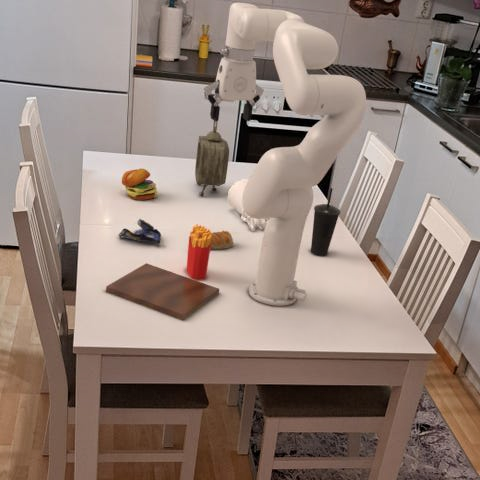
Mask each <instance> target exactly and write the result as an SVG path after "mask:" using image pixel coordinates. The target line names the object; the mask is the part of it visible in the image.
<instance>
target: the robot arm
mask: <svg viewBox="0 0 480 480" xmlns="http://www.w3.org/2000/svg"><path fill="white" fill-rule="evenodd" d="M228 13H229V14H228V20H227V29H226V37H225V44H224V48H221V49H220V52H219V53H220V55H223V57H221V59H220V63H219V66H218V69H217V73H216V77H215V81H214V82H212V83H210V84H209V85H205V86H204V87H203V90H204V91H203V92H204V94H205V97H206V99H207V100H208V102H209V104H211V105H210V113H209V116H210V119H211V120H212V121H213V122H214V121H217V122H219V119H220V110H221V107H220V104H221V103H222V101H245V102H246V103H244V104H243V111H242V119H243V120H245V121H247V122H251V118H252V116H253V108H254V107H255V106H256V103H258V102H259V101H260V99H261V97H262V95H263V93H264V91H265V90H264V88H262V87H261V86H260V85H258V84H257V63H256V61H255V60H254V54H255V48H256V42H273V43H272V56H273V61H274V66H275V69H276V73H277V75H278V79H279V81H280V84H281V88H282V91H283V94H284V97H285V100H286V103H287V105H288V107H289V109H290V110H291V111H292V112H293V113H295V114H297V115H300V116H325V117H323V118H322V119H320V120H319V121H317V122H316V123H315V124H314V125H312V126H311V128H310V129H308V131H307V133H306V134H305V137H304V138H303V140H302V141H301V142H300V143H299V144H297V145H294V146H281V147H274V148H270V149H269V150H267V151H266V152H265V153H263V154H262V155H261V157H260V159H259V161H258V162H257V164H256V166H255V168H254V170H253V171H252V174H251V175H250V177H249V178H248V179H249V180H248V182H247V184H246V186H245V189H244V192H243V197H242V204H243V208H244V211H245V212H246V214H247V215H249V216H250V217H252V218H255V219H265V220H267V221H266V222H267V224H266V225H265V227H264V230H263V236H262V242H261V248H260V255H259V260H258V267H257V274H256V281H254V282H252V283H251V284H250V285H249V286H248V294H249V296H250V297H251V298H252V299H253V300H255V301H256V302H259V303H261V304H264V305H269V306H275V307H277V306H278V307H282V306H283V307H284V306H289V305H292V304H294V303H296V301H297V300H298V301H301V302H306V300H307V297H308V295H307V294H306V293H307V290H305V289H303V288H299V287H298V281H297V280H295V277H296V271H297V266H298V259H299V255H300V248H301V244H302V240H303V234H304V229H305V225H306V222H307V219H308V217H309V213H310V211H311V208H312V206H313V203H314V190H313V187H315V186H317V185H318V184H320V182H321V181H322V180H323V178H324V177H325V176H326V174H327V173H328V171H329V170H330V169H331V168H332V165H333V164H334V162H335V161H336V159H337V158H338V156H339V154H340V153H341V151H342V150H343V149H344V147H345V146H346V145H347V144H348V143H349V141H350V140H351V139H352V138H353V137H354V135H355V134H356V132H357V131H358V129H359V128H360V126H361V124H362V122H363V120H364V116H365V113H366V107H367V93H366V90H365V87H364V85H363V84H362V83H361V82H360V81H359V80H358V79H356V78H355V77H351V76H347V75H342V74H310V73H308V71H307V70H322V69H325V68H328V67H329V66H331V65H332V64H333V63H334V62H335V61H336V60H337V57H338V54H339V45H338V42H337V40H336V38H335V37H334V35H332V34H331V33H330V32H328V31H326V30H324V29H321V28H319V27H316V26H314V25H311V24H308V23H306V22H305V20H304V18H303V17H302V16H301V15H298V14H296V13H293V12H291V11H287V10H283V9H275V8H274V9H273V8H259V7H258V6H257V5H255V4H252V3H247V2H234V3H231V5H230V7H229V11H228ZM212 91H214V95H213V94H212Z"/></svg>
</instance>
